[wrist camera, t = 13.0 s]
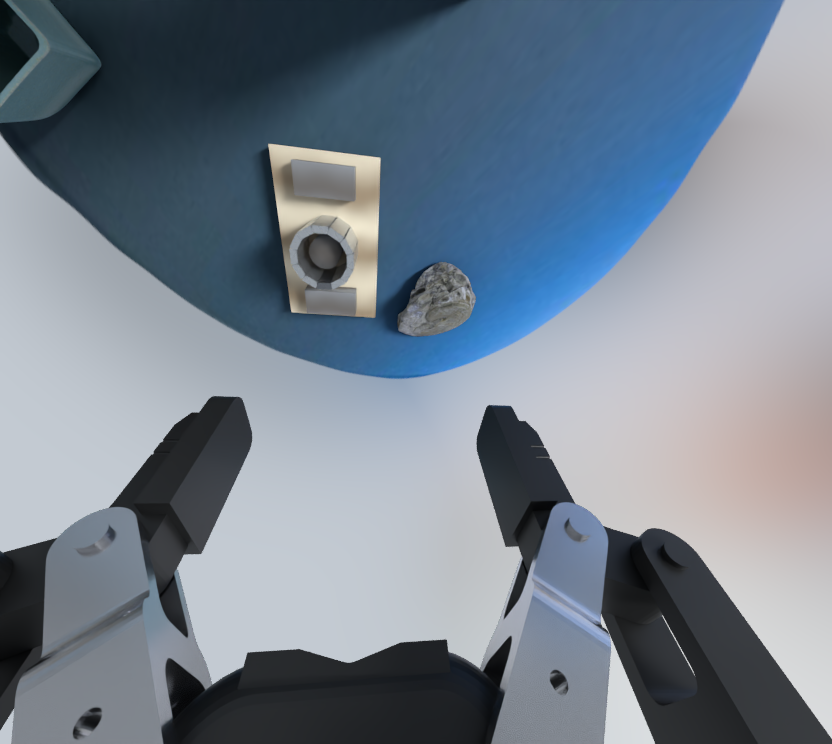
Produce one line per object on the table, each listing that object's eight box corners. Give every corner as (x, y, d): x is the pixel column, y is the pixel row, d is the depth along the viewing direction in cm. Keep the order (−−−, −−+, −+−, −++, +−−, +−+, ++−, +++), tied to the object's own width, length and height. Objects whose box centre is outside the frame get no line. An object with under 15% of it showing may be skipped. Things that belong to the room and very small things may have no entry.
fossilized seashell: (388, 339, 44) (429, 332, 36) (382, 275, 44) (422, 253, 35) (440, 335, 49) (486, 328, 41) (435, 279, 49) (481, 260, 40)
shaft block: (274, 144, 32) (253, 142, 27) (380, 157, 33) (379, 158, 28) (295, 306, 42) (283, 326, 37) (375, 311, 43) (374, 331, 39)
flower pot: (25, -65, 24) (-137, -163, 16) (138, 73, 28) (51, 45, 21) (-33, 18, 26) (-201, -35, 18) (81, 134, 30) (-16, 127, 23)
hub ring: (300, 212, 34) (285, 222, 29) (358, 218, 35) (353, 229, 30) (306, 269, 38) (293, 287, 33) (358, 274, 38) (354, 291, 33)
